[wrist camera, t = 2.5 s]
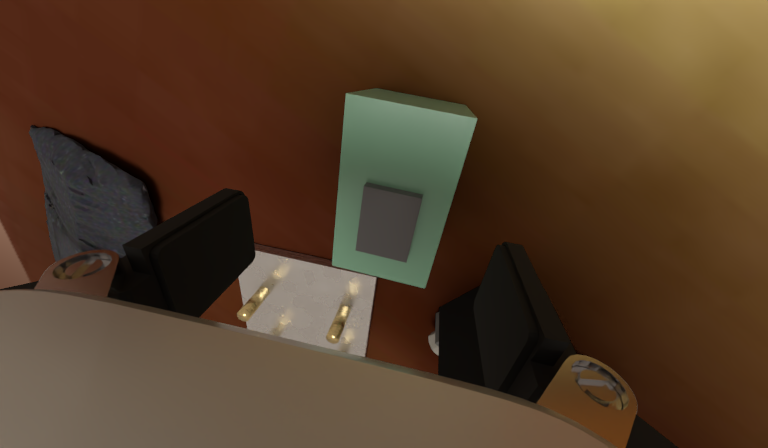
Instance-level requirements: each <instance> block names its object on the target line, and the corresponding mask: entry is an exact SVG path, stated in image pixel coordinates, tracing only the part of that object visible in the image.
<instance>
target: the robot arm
mask: <svg viewBox="0 0 768 448" xmlns="http://www.w3.org/2000/svg"><path fill="white" fill-rule="evenodd" d="M122 246H123V249H124V251H125V253H126V255H125V256H124V257H122V258H120V257H119V255H118V254H117V253H116V252H114V251H111V250H90V251H85V252H81V253H77V254H74V255H71V256H68V257H66V258H64V259H61V260H59V261H57V262H56V263H54V264H53V265H51V266H50V267H49V268H48V269H47V270H46V271H45V272H44V274H43V275H42V277H41V278H40V280H39V281H37V282H32V283H27V284H23V285H18V286H13V287H9V288H4V289H0V448H678V447H677V446H675V445H674V444H673V443H672V442H670V441H669V440H668V439H666V438H665V437H664V436H663V435H661V434H660V433H659V432H658V431H656V430H655V429H654V428H653V427H651V426H650V425H649V424H647V423H646V422H645V421H644V420H642V419H641V418H640V417H639V416H637V415H636V413H637V401H636V398H635V396H634V393H633V392H632V390H631V389H630V387H629V386H628V384H627V383H626V382H625V381H624V380H623V379H622V378H621V377H620V376H619V375H618V374H617V373H616V372H615V371H613V370H612V369H611V368H610V367H608V366H607V365H605V364H603V363H602V362H600V361H598V360H596V359H594V358H591V357H589V356H585V355H578V354H576V352H575V350H574V348H573V346H572V343H571V341H570V339H569V337H568V335H567V333H566V331H565V329H564V327H563V325H562V323H561V321H560V319H559V317H558V315H557V313H556V311H555V309H554V307H553V305H552V303H551V301H550V299H549V297H548V295H547V293H546V291H545V289H544V288H543V286H542V284H541V282H540V280H539V278H538V276H537V274H536V272H535V270H534V268H533V266H532V264H531V262H530V260H529V258H528V256H527V254H526V252H525V249H524V247H523V246H522V245H519V244H513V243H508V242H504V243H503V244H502V245H497V246H496V248H495V250H494V253H493V255H492V258H491V260H490V263H489V265H488V268H487V270H486V273H485V275H484V278H483V280H482V283H481V285H480V288H479V290H478V293H477V295H476V298H475V300H474V316H475V322H476V329H477V336H478V342H479V349H480V356H481V362H482V369H483V375H484V382H485V387H482V386H478V385H474V384H470V383H467V382H463V381H459V380H455V379H451V378H447V377H444V376H440V375H436V374H432V373H428V372H424V371H420V370H416V369H412V368H408V367H403V366H399V365H395V364H391V363H387V362H383V361H379V360H375V359H371V358H367V357H362V356H358V355H354V354H350V353H346V352H342V351H338V350H334V349H329V348H325V347H321V346H317V345H313V344H308V343H304V342H300V341H296V340H292V339H287V338H283V337H279V336H275V335H270V334H266V333H262V332H258V331H254V330H249V329H245V328H241V327H237V326H232V325H228V324H224V323H219V322H215V321H211V320H206V319H202V318H199V317H200V316H201V315H202V314H203V313H204V312H205V311H206V310H207V309H208V308H209V307H210V306H211V304H212V303H213V302H214V301H215V300H216V299H217V298H218V297H219V296H220V295H221V294H222V293H223V292H224V291H225V290H226V289H227V288H228V287H229V286H230V285H231V284H232V283H233V282H234V281H235V280H236V279H237V278H238V277H239V276H240V275H241V274H242V272H243V271H244V270H245V269H246V268H247V267H248V266H249V265H250V264H251V263H252V262H253V261H254V259H255V255H256V252H255V245H254V238H253V231H252V223H251V216H250V209H249V202H248V198H247V197H246V196H245V195H244V193H243V192H242V191H238V190H233V189H227V188H225V189H223V190H221V191H219V192H217V193H216V194H214V195H212V196H210V197H208V198H206V199H205V200H203V201H201V202H199V203H197V204H196V205H194V206H192V207H190V208H188V209H187V210H185V211H183V212H181V213H179V214H177V215H176V216H174V217H172V218H170V219H168V220H167V221H165V222H163V223H161V224H159V225H158V226H156V227H154V228H152V229H150V230H148V231H147V232H145V233H143V234H141V235H139V236H138V237H136V238H134V239H132V240H130V241H129V242H127V243H125V244H123V245H122Z"/></svg>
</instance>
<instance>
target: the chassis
mask: <svg viewBox="0 0 768 448" xmlns="http://www.w3.org/2000/svg"><path fill="white" fill-rule="evenodd" d="M254 245H255V252H256V255H255V259H254V261H253V262H252V263H251V264H250V265H249V266H248V267H247V268H246V269H245V270H244V271H243V272H242V274H241V275H240V276H239V282H240V288H241V294H242V300H243V307H242V308H241V309H240V311H239V312H238V313H237V317H238V318H239V319H240V320H242V321H246V323H247V329H249V330H254V331H258V332H262V333H266V334H270V335H275V336H279V337H283V338H287V339H292V340H296V341H300V342H304V343H308V344H313V345H317V346H321V347H325V348H329V349H334V350H338V351H342V352H346V353H350V354H354V355H358V356H362V357H366V352H367V345H368V338H369V332H370V325H371V318H372V311H373V305H374V298H375V291H376V284H377V278H378V277H376V276H372V275H368V274H364V273H360V272H356V271H352V270H348V269H344V268H340V267H336V266H332V260H328V259H323V258H319V257H314V256H310V255H305V254H301V253H296V252H292V251H287V250H282V249H278V248H273V247H269V246H264V245H260V244H255V243H254Z"/></svg>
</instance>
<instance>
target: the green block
mask: <svg viewBox="0 0 768 448" xmlns="http://www.w3.org/2000/svg"><path fill="white" fill-rule="evenodd" d="M476 122H477V117H476V116H475V115H474V114H473V113H472V112H471V111H470V109H469V108H468V107H467V106H466V105H463V104H458V103H452V102H447V101H442V100H437V99H431V98H426V97H421V96H416V95H410V94H405V93H400V92H394V91H389V90H384V89H379V88H375V89H369V90H362V91H356V92H350V93H346V98H345V110H344V122H343V135H342V147H341V159H340V171H339V184H338V196H337V208H336V220H335V233H334V245H333V257H332V266H336V267H340V268H344V269H348V270H352V271H356V272H360V273H364V274H368V275H372V276H376V277H380V278H384V279H389V280H393V281H397V282H401V283H405V284H409V285H413V286H417V287H421V288H425V287H426V284H427V280H428V277H429V274H430V271H431V267H432V264H433V261H434V258H435V255H436V251H437V248H438V245H439V242H440V238H441V235H442V232H443V229H444V225H445V222H446V219H447V216H448V213H449V209H450V206H451V203H452V200H453V196H454V193H455V190H456V187H457V183H458V180H459V177H460V174H461V170H462V167H463V164H464V161H465V158H466V154H467V151H468V148H469V145H470V141H471V138H472V135H473V132H474V128H475V125H476Z"/></svg>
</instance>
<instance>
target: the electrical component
mask: <svg viewBox="0 0 768 448" xmlns="http://www.w3.org/2000/svg"><path fill="white" fill-rule="evenodd" d="M479 288H480V286H479V287H477V288H475V289H473V290H471V291H469V292H467V293H465V294H464V295H462V296H460V297H458V298H456V299H454V300H452V301H450V302H449V303H447V304H445V305H443V306H441V307H439V312H437V313H436V322H435V331H434V332H432V333H431V334H430V335H429V336H428V338H429V344H430V346H431V348H432V350H433V351H434V353H435V354H437V355H438V356H439V364H438V375H440V376H444V377H447V378H451V379H455V380H459V381H463V382H467V383H470V384H474V385H478V386H482V387H485V382H484V375H483V369H482V362H481V356H480V349H479V342H478V336H477V329H476V322H475V316H474V300H475V298H476V295H477V293H478V290H479Z"/></svg>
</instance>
